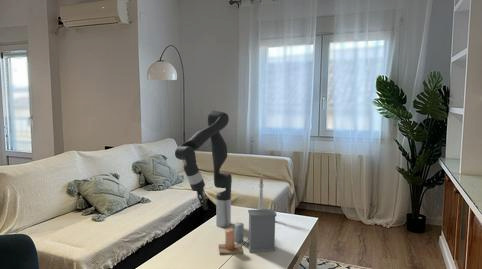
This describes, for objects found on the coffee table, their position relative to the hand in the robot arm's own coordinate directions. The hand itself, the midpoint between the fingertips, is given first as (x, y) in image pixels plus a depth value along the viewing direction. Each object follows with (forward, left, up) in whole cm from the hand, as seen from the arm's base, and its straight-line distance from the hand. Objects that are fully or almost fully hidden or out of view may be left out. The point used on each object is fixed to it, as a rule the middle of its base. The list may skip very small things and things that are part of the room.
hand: (205, 205), depth 186 cm
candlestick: (-37, +38, -23) cm, 58 cm away
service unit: (+8, +30, -23) cm, 38 cm away
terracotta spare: (+8, +13, -21) cm, 26 cm away
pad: (+8, +13, -23) cm, 27 cm away
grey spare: (-2, +19, -23) cm, 29 cm away
